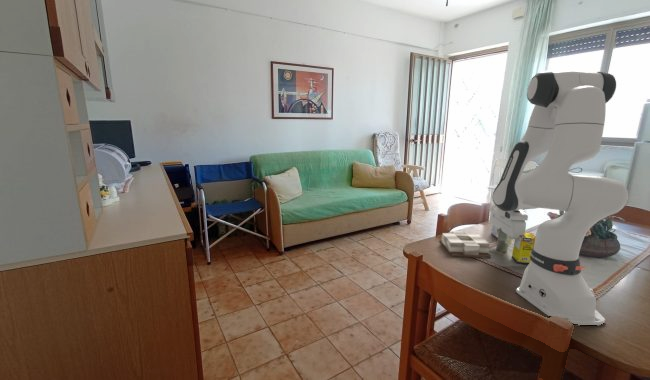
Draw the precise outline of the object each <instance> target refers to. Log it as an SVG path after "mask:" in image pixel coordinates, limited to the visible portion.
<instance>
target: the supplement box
mask: <svg viewBox="0 0 650 380" xmlns="http://www.w3.org/2000/svg"><path fill="white" fill-rule="evenodd" d="M535 238H536V234H533V233H532V232H525V234H524V235H520V237H519V239H514V240H513V241H514V243H513V248H512V254H511V258H512V259H513V260H514V261H515V262H516V263H517V264H519V265H520V264H521V265H529V263H530V261H531V259H530V253H531V250H532V248H533V247H534V243H535Z"/></svg>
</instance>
